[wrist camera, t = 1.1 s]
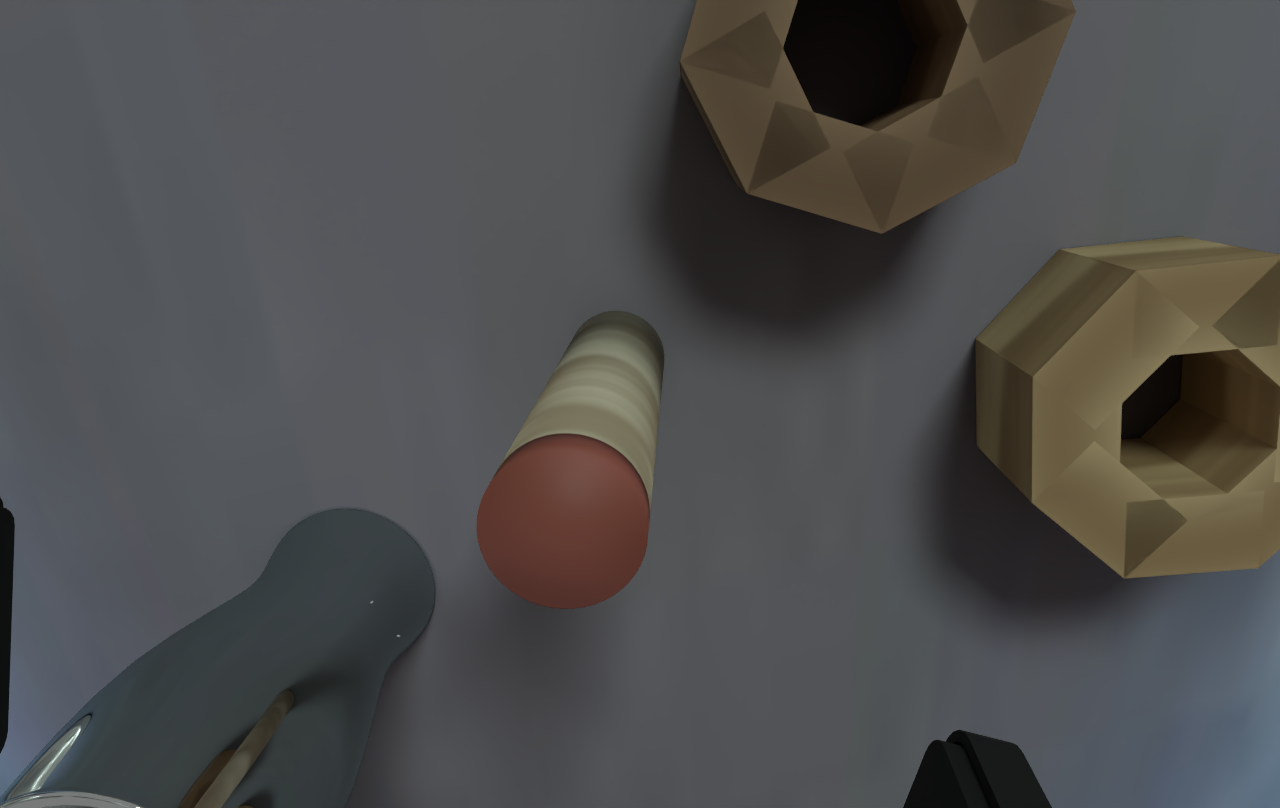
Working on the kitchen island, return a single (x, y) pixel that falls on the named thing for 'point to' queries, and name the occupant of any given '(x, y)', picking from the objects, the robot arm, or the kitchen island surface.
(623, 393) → the cream and red cylinder
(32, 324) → the kitchen island surface
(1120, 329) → the oak bead
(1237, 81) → the kitchen island surface
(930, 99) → the walnut bead
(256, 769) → the beer glass
